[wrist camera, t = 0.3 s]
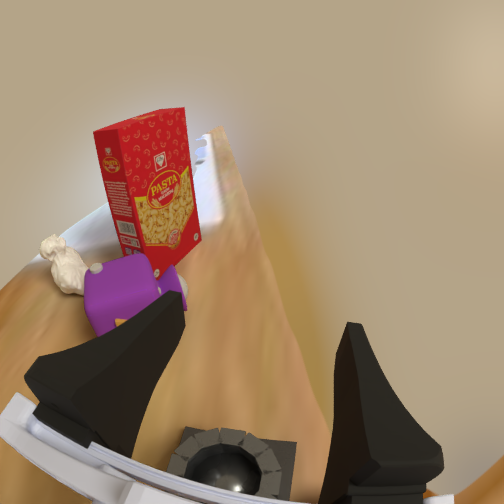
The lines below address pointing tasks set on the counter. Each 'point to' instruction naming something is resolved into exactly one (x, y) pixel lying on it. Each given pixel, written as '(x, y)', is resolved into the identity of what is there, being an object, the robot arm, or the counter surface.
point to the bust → (64, 265)
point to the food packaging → (150, 186)
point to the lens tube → (235, 462)
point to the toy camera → (125, 290)
